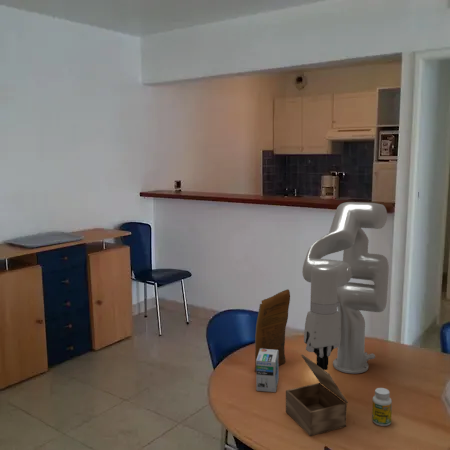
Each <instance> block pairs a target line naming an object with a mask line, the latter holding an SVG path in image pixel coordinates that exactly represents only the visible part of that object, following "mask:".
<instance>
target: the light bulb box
mask: <svg viewBox="0 0 450 450" xmlns="http://www.w3.org/2000/svg"><path fill="white" fill-rule="evenodd" d="M279 368H280V365H279V350H273V349H261V348H260V350H259V353H258V356H257V359H256V372H255V375H256V376H255V377H256V378H255V379H256V381H255V382H256V384H255V387H256V388H255V389H256V392H257V391H258V392H269V393H276V392H277V389H278V388H277V387H278V384H279V379H280V378H279V377H280V376H279V373H280V372H279Z"/></svg>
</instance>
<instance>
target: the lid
mask: <svg viewBox="0 0 450 450" xmlns="http://www.w3.org/2000/svg"><path fill="white" fill-rule="evenodd" d="M300 356H301V358H302V359H303V361H304V362H305V363H306V365H307V366H308V368H309V369H310V370H311V372H312V374H313V375H314V376H315V378H316V380H317V381H318V383H320V384H322V385H323V386H324V387H326V388H327V389H328V390H329V391H331V392H332V393H333V394H335V395H336V396H337V397H338V398H340V399H341V400H342V401H344V402H345V403H346V404H349V401H348V400H347V399H346V397H345V396H344V394H343V393H342V391H341V389H340V388H339V387H338V385H337V383H336V382H335V381H334V379H333V377H332V376H331V374H330V373H329V372H328V371H327V370H323V369H322V368H321V367H319V366H318V365H317V363H315V362H313V360H311V359H309V358H308V357H306V355H304V354H301V355H300Z"/></svg>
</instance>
